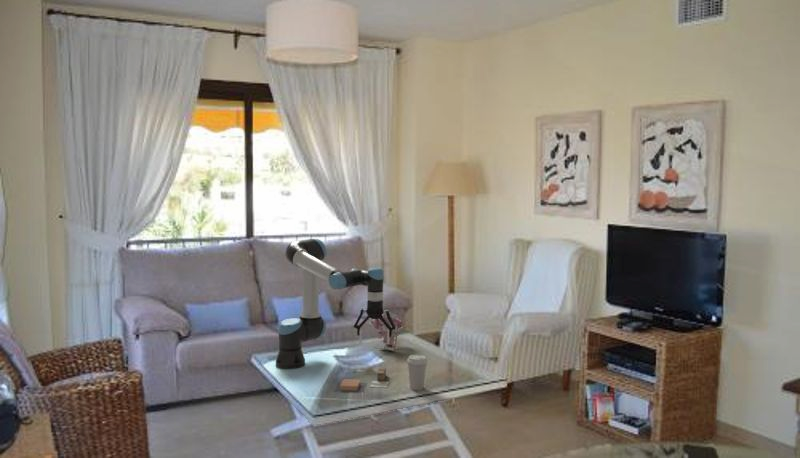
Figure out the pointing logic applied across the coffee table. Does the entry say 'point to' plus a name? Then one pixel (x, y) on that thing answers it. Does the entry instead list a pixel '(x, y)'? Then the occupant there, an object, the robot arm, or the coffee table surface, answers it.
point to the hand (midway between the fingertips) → (374, 342)
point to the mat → (360, 389)
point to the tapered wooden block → (380, 379)
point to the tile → (350, 385)
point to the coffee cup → (417, 371)
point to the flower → (380, 330)
